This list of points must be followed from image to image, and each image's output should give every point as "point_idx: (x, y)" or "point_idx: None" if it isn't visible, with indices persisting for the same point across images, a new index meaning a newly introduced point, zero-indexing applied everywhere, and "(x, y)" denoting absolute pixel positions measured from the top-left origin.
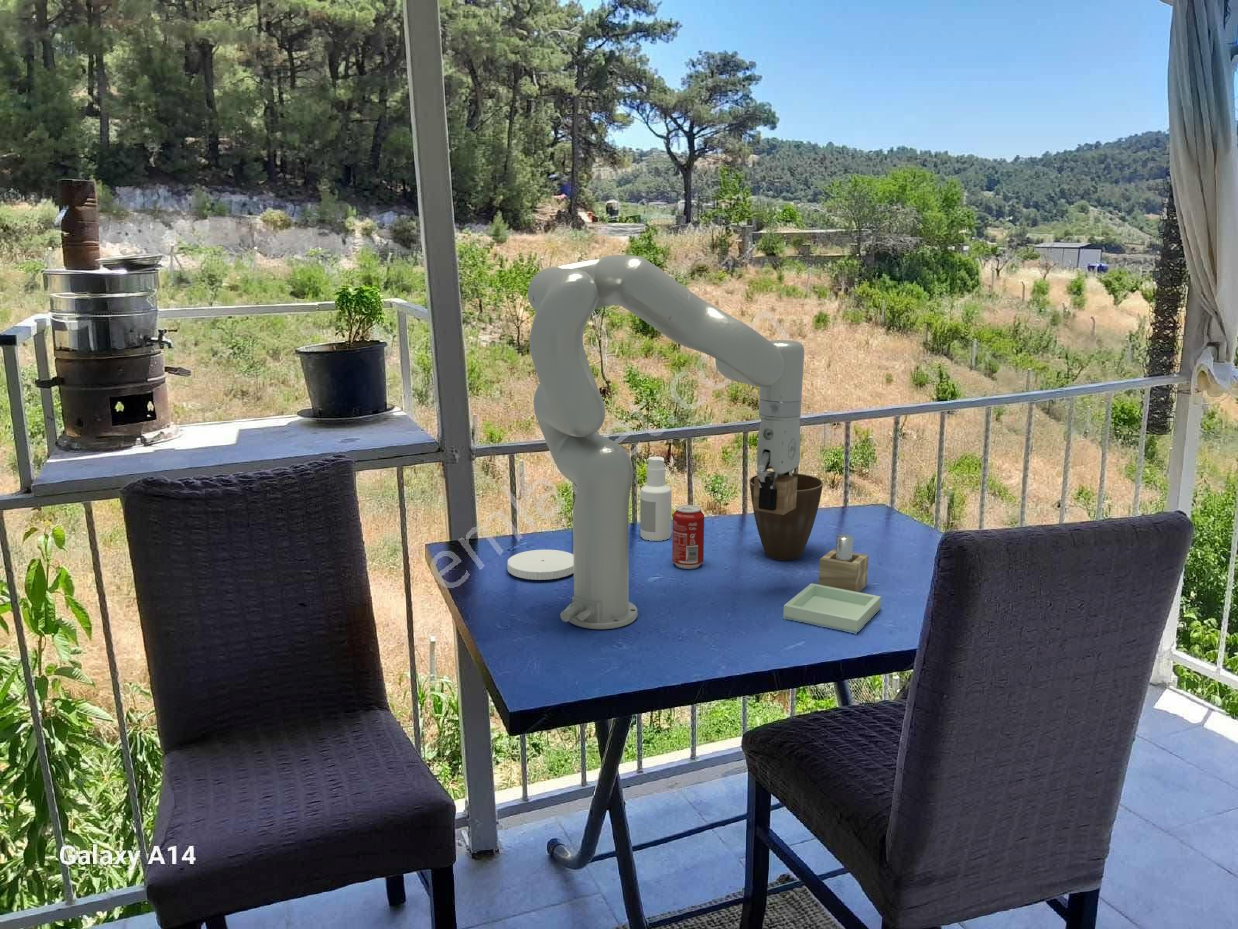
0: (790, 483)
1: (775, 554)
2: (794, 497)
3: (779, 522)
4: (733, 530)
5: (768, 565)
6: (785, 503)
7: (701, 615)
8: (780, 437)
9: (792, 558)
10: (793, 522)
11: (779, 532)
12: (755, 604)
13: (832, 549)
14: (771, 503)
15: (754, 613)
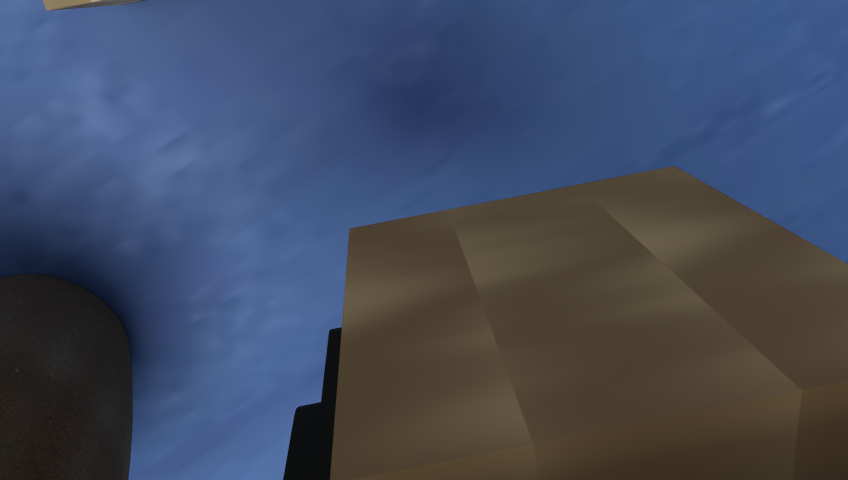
0: (681, 364)
1: (124, 341)
2: (412, 272)
3: (90, 417)
4: None
5: (209, 309)
6: (691, 211)
7: (831, 170)
8: None
9: (67, 282)
10: (19, 364)
11: (103, 382)
12: (634, 87)
13: (54, 8)
14: None
15: (724, 32)
